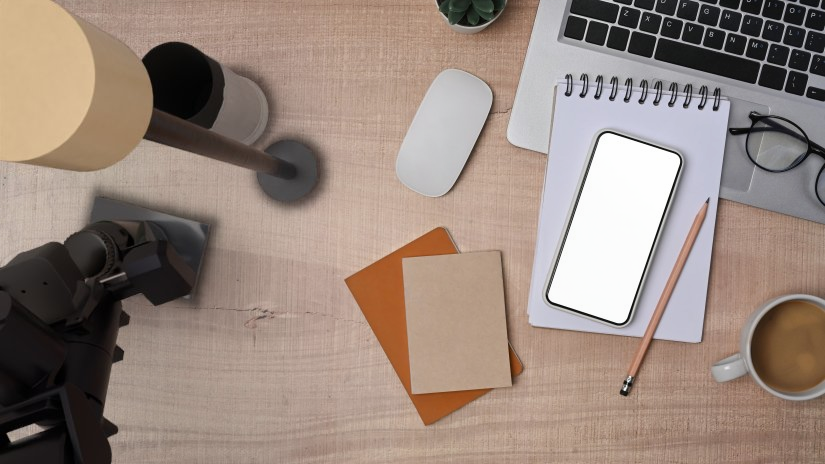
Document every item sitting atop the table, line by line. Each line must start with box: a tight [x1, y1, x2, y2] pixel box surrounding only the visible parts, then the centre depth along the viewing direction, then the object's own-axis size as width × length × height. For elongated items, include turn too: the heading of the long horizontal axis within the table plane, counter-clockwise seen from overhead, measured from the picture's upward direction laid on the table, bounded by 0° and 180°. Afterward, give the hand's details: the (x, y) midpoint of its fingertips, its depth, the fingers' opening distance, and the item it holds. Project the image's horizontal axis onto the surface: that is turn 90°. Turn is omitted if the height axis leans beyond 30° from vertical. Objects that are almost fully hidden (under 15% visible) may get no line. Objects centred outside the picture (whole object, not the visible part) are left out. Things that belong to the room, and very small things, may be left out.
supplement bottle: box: [62, 220, 168, 281], centre depth 65 cm, size 7×7×12 cm
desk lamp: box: [0, 0, 321, 203], centre depth 48 cm, size 7×7×46 cm
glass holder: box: [140, 41, 270, 146], centre depth 63 cm, size 9×14×15 cm, turn 84°
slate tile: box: [88, 195, 212, 301], centre depth 71 cm, size 9×14×1 cm, turn 76°
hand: (104, 238), depth 63 cm, fingers open, 9 cm apart
